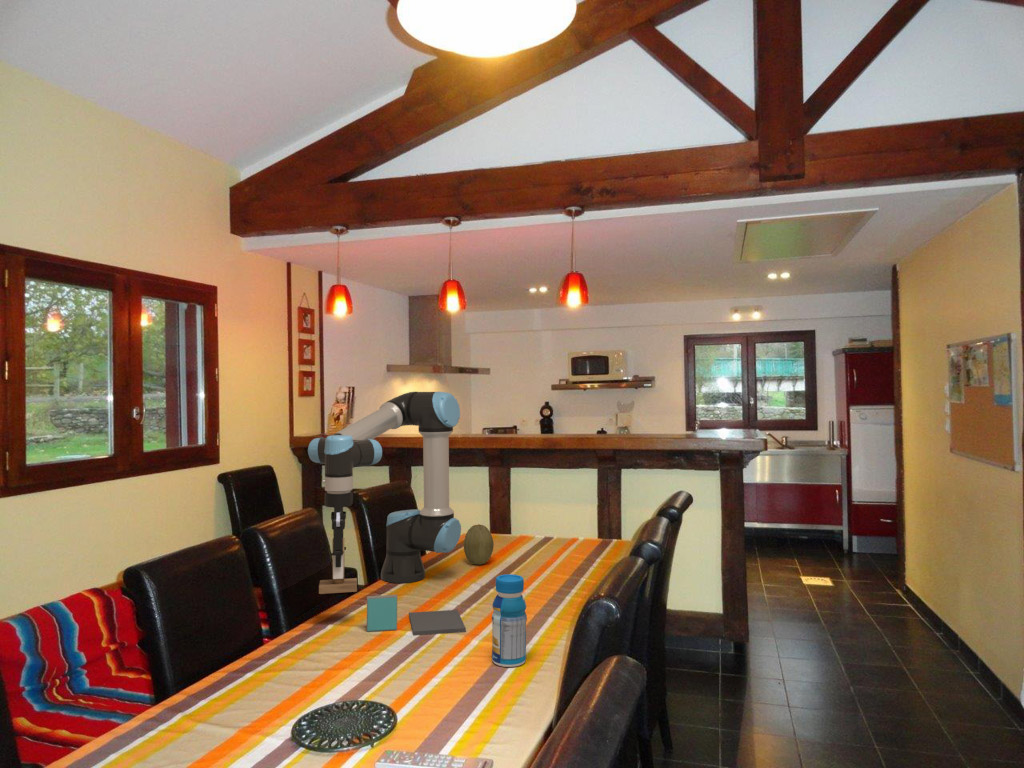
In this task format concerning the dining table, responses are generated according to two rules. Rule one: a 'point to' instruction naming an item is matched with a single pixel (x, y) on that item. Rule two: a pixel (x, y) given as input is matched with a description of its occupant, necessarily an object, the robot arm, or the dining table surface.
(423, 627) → the mat
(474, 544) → the fruit
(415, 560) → the robot arm
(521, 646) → the beverage bottle
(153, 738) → the dining table surface
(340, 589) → the tamper
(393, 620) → the tile
